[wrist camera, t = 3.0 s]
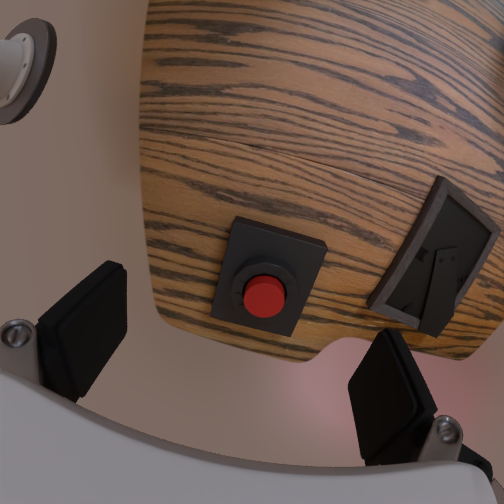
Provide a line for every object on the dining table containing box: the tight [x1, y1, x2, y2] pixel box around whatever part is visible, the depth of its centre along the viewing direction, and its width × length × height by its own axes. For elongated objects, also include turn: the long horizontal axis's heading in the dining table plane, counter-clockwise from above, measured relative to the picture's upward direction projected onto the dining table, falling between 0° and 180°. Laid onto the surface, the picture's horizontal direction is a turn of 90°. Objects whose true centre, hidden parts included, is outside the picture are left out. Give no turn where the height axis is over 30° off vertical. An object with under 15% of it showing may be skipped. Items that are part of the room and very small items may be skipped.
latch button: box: [244, 275, 284, 318], centre depth 28 cm, size 4×4×2 cm
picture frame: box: [366, 175, 501, 338], centre depth 29 cm, size 13×2×18 cm
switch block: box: [210, 216, 328, 337], centre depth 30 cm, size 12×10×4 cm
